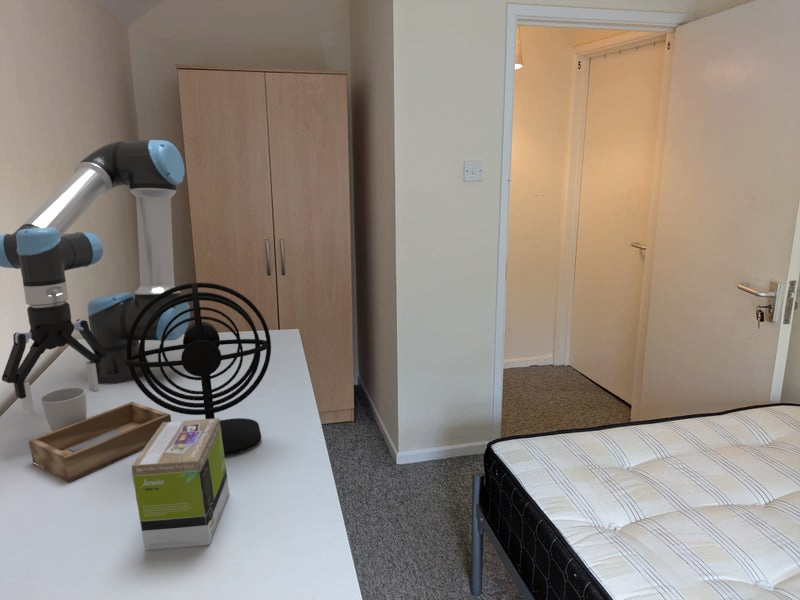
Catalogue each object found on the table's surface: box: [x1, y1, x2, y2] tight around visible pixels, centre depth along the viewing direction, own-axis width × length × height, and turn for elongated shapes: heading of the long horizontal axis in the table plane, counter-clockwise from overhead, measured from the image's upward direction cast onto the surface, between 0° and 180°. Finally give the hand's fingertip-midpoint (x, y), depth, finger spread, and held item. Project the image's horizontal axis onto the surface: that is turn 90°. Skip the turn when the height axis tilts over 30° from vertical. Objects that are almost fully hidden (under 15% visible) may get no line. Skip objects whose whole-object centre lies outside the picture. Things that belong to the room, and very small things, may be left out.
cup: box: [41, 387, 88, 432], centre depth 124 cm, size 8×8×10 cm
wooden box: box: [28, 401, 172, 483], centre depth 119 cm, size 14×22×5 cm, turn 147°
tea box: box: [131, 417, 230, 551], centre depth 92 cm, size 15×10×15 cm, turn 5°
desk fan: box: [125, 282, 272, 456], centre depth 116 cm, size 27×18×35 cm, turn 109°
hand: (63, 400), depth 123 cm, fingers open, 13 cm apart
